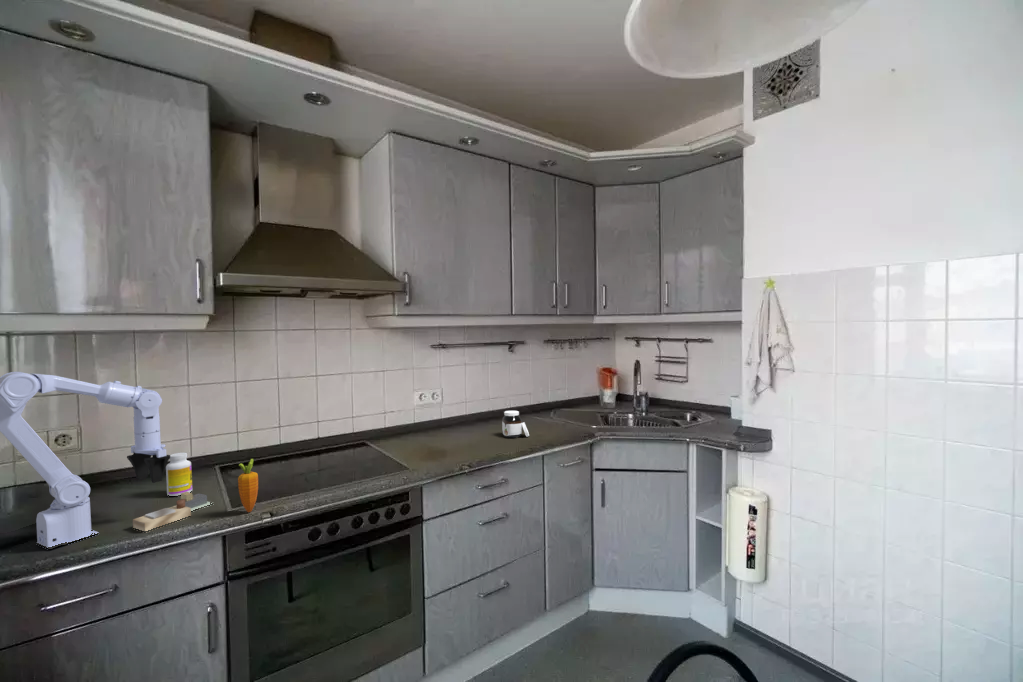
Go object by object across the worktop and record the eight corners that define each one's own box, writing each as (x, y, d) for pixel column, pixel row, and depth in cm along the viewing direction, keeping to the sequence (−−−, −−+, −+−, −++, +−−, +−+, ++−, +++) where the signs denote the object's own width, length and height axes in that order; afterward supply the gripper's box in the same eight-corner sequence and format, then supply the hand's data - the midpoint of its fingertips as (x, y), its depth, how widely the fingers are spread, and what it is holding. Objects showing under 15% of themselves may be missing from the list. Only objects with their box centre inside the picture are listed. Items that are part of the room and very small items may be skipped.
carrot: (240, 517, 126) (238, 463, 125) (238, 512, 130) (236, 459, 129) (260, 513, 129) (258, 460, 128) (258, 507, 133) (256, 456, 132)
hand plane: (145, 532, 118) (144, 515, 118) (133, 528, 120) (132, 511, 120) (191, 516, 128) (190, 500, 128) (179, 513, 130) (178, 497, 130)
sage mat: (186, 513, 130) (186, 512, 130) (171, 509, 133) (171, 508, 133) (213, 504, 137) (213, 502, 137) (199, 500, 140) (199, 499, 140)
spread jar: (500, 435, 216) (499, 411, 215) (521, 432, 220) (521, 408, 220) (511, 440, 205) (510, 414, 204) (533, 437, 209) (532, 412, 209)
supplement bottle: (195, 493, 147) (193, 453, 147) (170, 499, 142) (168, 458, 142) (189, 488, 152) (187, 450, 151) (164, 494, 147) (163, 454, 146)
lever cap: (185, 510, 131) (184, 496, 131) (177, 508, 133) (176, 494, 133) (207, 503, 137) (206, 489, 137) (199, 501, 138) (198, 487, 138)
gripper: (177, 430, 128) (179, 478, 129) (150, 427, 135) (152, 472, 135) (148, 436, 122) (150, 486, 122) (121, 432, 129) (123, 480, 129)
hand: (149, 480), depth 128 cm, fingers open, 7 cm apart
